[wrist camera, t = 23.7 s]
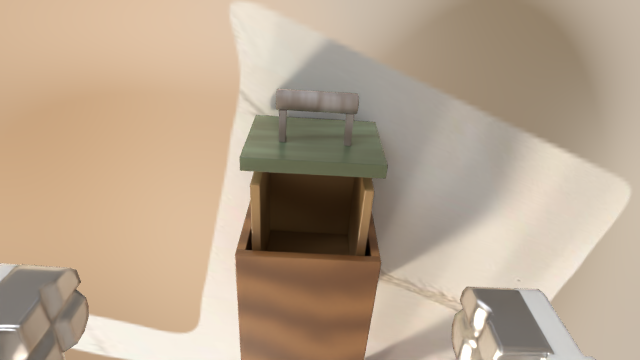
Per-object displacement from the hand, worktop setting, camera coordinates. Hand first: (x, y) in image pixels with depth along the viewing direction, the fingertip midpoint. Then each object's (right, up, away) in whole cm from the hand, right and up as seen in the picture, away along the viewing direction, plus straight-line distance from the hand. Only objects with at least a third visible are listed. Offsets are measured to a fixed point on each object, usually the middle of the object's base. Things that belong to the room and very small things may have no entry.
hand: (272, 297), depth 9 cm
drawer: (0, +4, +32) cm, 33 cm away
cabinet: (0, -5, +39) cm, 39 cm away
